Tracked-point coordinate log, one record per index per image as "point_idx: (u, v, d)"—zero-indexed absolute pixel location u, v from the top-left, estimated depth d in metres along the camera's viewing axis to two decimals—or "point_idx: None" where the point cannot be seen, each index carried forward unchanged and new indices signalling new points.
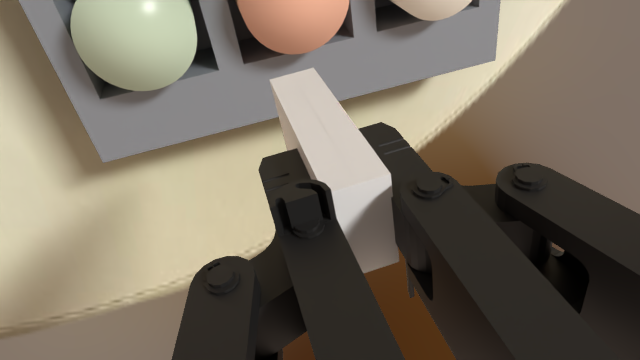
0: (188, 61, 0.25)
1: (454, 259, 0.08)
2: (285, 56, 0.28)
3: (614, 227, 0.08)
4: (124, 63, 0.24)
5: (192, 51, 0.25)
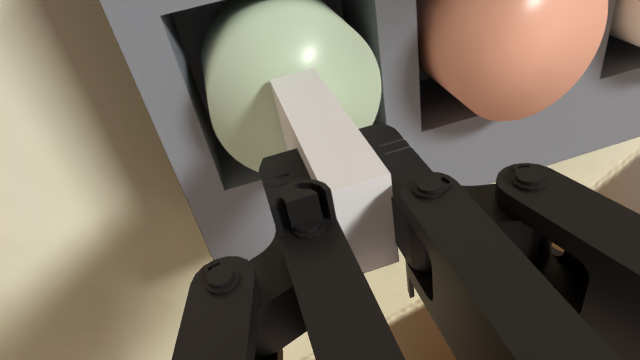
0: None
1: (454, 259, 0.08)
2: (476, 118, 0.20)
3: (614, 227, 0.08)
4: (275, 141, 0.16)
5: (370, 119, 0.17)
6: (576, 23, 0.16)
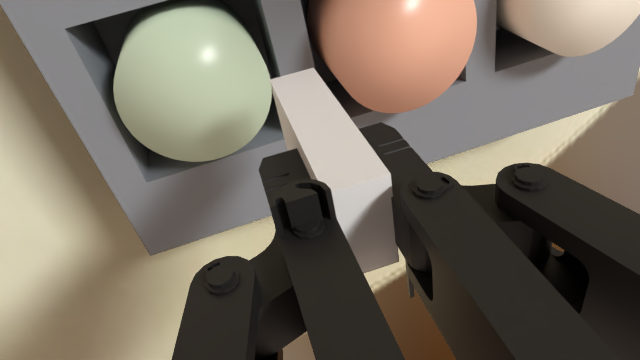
0: (260, 121, 0.20)
1: (454, 259, 0.08)
2: None
3: (614, 227, 0.08)
4: (180, 130, 0.19)
5: (265, 109, 0.19)
6: (447, 23, 0.18)
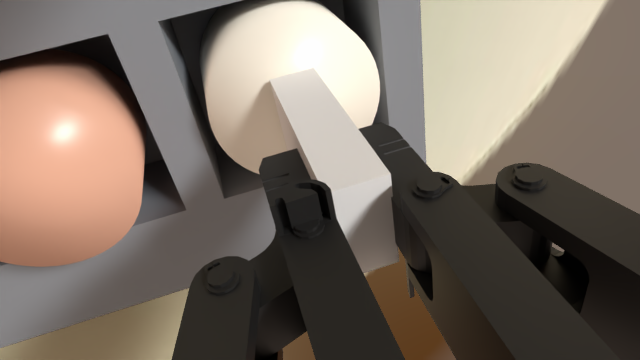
0: None
1: (454, 259, 0.08)
2: None
3: (614, 227, 0.08)
4: None
5: None
6: (88, 168, 0.14)
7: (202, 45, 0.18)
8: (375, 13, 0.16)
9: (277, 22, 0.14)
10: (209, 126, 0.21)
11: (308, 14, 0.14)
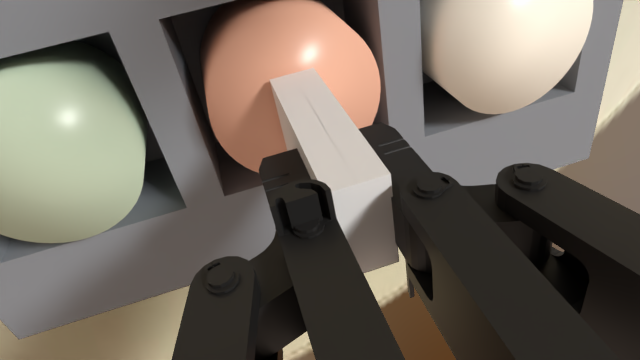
0: (132, 197, 0.16)
1: (454, 259, 0.08)
2: None
3: (614, 227, 0.08)
4: (30, 209, 0.16)
5: (137, 184, 0.16)
6: (344, 81, 0.16)
7: None
8: None
9: None
10: None
11: None
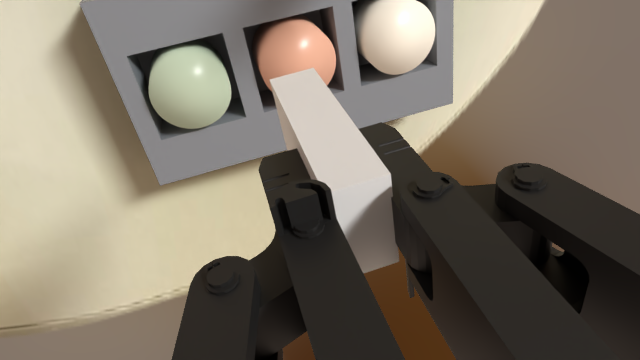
0: (225, 107, 0.36)
1: (454, 259, 0.08)
2: None
3: (614, 227, 0.08)
4: (181, 110, 0.35)
5: (227, 101, 0.36)
6: (319, 55, 0.36)
7: (353, 15, 0.39)
8: (434, 0, 0.37)
9: (397, 2, 0.36)
10: None
11: None
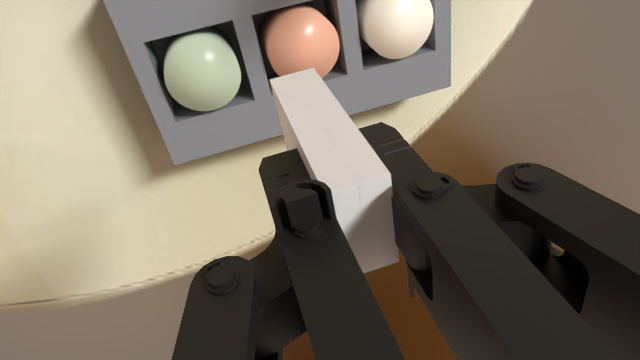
0: (235, 91, 0.39)
1: (454, 259, 0.08)
2: None
3: (614, 227, 0.08)
4: (194, 94, 0.38)
5: (237, 84, 0.38)
6: (323, 40, 0.38)
7: (355, 2, 0.41)
8: None
9: None
10: None
11: None
